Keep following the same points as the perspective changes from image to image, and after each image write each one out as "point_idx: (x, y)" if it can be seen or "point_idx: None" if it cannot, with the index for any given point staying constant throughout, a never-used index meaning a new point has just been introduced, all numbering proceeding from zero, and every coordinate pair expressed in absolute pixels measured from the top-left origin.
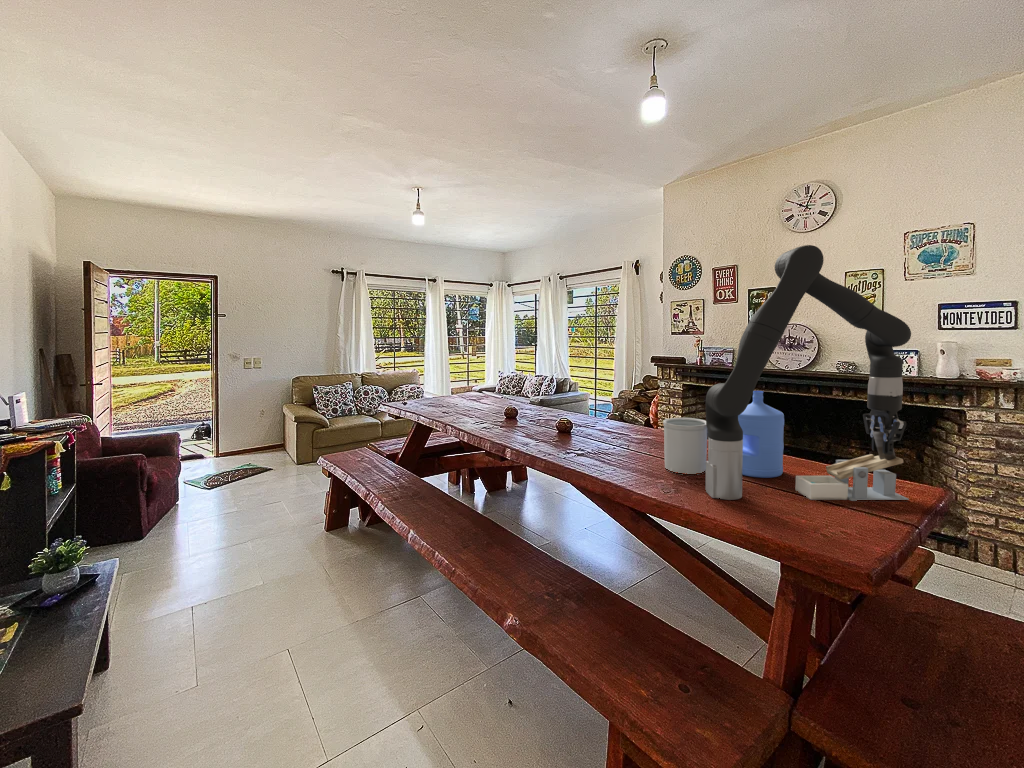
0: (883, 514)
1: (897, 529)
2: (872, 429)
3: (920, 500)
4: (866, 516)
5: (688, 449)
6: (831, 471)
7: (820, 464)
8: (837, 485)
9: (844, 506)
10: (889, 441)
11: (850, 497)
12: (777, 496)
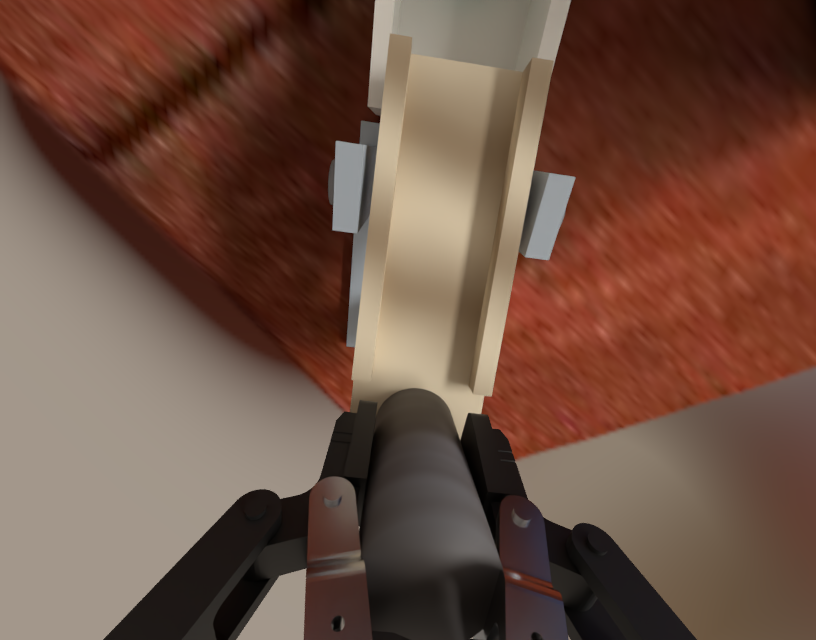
0: (200, 133)
1: (21, 42)
2: (511, 581)
3: (350, 377)
4: (161, 24)
5: None
6: (487, 69)
7: (804, 367)
8: (373, 33)
9: (290, 18)
10: (309, 495)
11: (378, 133)
12: None
